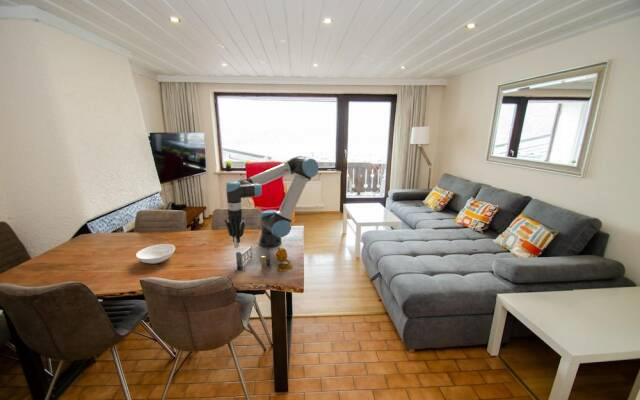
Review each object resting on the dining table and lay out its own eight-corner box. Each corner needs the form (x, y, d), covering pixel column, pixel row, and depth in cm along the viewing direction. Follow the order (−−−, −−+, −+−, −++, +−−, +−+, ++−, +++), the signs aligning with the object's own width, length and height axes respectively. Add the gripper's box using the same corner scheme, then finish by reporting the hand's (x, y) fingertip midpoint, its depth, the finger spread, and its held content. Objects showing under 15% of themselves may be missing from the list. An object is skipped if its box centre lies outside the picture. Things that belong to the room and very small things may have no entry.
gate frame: (235, 267, 149) (234, 251, 147) (270, 263, 154) (269, 248, 152) (235, 271, 145) (233, 255, 143) (270, 267, 150) (270, 251, 148)
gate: (242, 267, 150) (241, 255, 148) (240, 266, 150) (239, 254, 148) (252, 257, 161) (252, 246, 159) (250, 257, 161) (250, 245, 159)
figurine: (273, 264, 154) (273, 245, 151) (292, 263, 155) (292, 244, 152) (273, 272, 146) (272, 252, 143) (292, 271, 147) (292, 251, 144)
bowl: (135, 272, 143) (133, 262, 142) (139, 257, 160) (138, 247, 159) (176, 264, 152) (175, 254, 151) (176, 250, 169) (175, 241, 168)
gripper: (220, 209, 147) (223, 248, 153) (241, 211, 144) (243, 251, 150) (228, 206, 154) (230, 243, 160) (248, 208, 151) (250, 246, 157)
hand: (236, 247), depth 155 cm, fingers closed
